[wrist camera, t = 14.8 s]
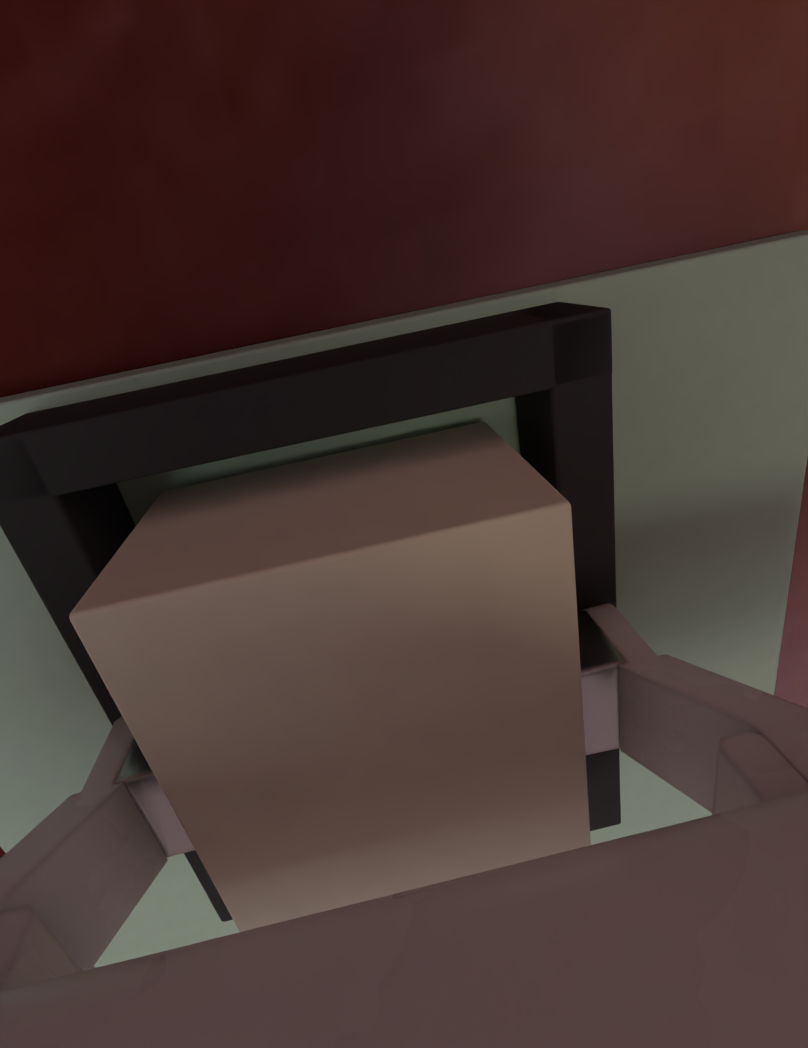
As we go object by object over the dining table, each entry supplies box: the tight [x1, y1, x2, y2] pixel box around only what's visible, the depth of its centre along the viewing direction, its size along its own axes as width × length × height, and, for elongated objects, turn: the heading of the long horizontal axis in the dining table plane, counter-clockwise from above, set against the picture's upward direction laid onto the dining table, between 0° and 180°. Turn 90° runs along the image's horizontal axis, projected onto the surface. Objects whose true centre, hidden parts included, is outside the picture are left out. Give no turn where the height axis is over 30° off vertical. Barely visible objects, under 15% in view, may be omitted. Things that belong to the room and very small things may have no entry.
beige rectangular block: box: [69, 422, 591, 932], centre depth 10 cm, size 6×8×4 cm
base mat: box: [0, 230, 808, 968], centre depth 12 cm, size 20×16×3 cm
